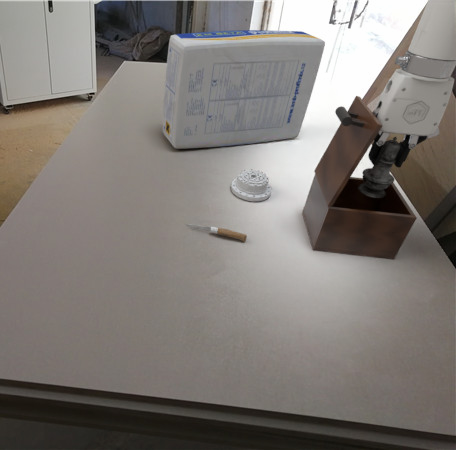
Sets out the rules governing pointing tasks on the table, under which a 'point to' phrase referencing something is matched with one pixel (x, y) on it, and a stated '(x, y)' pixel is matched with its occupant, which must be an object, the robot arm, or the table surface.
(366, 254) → the chest
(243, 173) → the mechanical component
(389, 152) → the dark grey chess piece
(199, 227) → the folding knife
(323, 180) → the lid
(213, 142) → the construction material bag
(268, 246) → the table surface
